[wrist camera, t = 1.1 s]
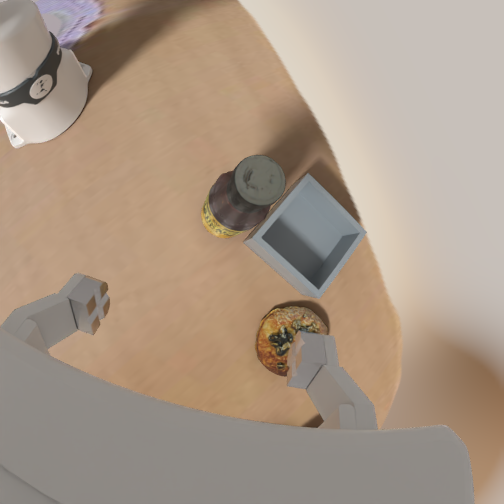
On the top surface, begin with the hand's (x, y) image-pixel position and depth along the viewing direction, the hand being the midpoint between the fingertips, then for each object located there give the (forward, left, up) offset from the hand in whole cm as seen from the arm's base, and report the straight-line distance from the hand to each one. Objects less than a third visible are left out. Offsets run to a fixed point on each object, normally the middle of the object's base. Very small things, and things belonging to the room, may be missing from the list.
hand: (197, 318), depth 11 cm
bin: (+8, +14, -28) cm, 33 cm away
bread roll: (+16, +2, -29) cm, 33 cm away
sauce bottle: (-2, +9, -28) cm, 30 cm away
